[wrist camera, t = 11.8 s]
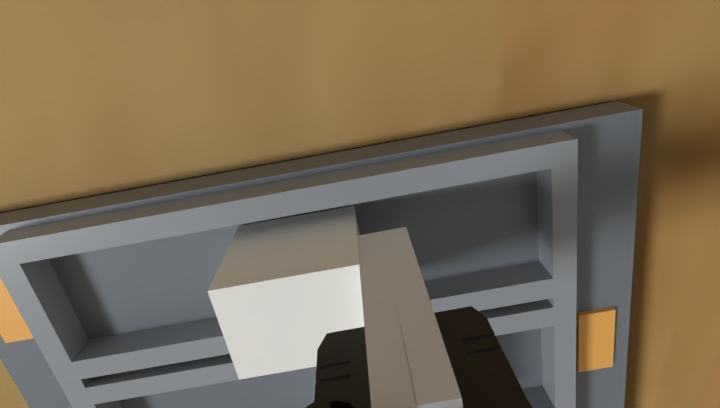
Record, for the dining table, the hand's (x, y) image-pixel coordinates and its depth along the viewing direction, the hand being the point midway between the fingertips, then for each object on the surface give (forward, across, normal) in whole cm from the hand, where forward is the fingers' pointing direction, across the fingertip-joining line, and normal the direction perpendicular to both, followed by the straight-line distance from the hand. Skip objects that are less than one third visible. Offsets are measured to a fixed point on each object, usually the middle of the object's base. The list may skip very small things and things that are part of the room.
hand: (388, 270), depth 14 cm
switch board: (+4, -3, -6) cm, 8 cm away
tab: (+2, -3, 0) cm, 3 cm away
